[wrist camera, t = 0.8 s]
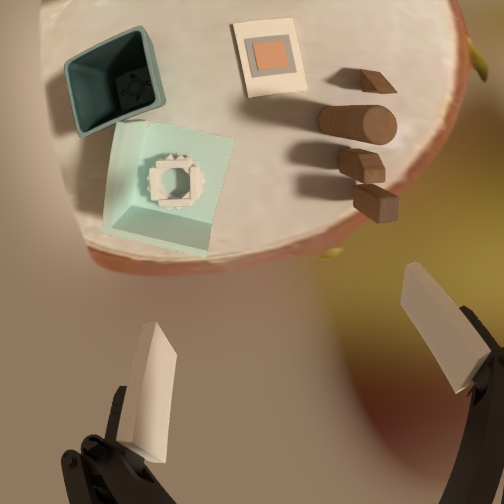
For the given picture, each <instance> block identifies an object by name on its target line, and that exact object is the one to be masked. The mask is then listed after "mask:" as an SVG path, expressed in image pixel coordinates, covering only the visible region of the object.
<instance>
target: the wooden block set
mask: <svg viewBox="0 0 504 504" xmlns="http://www.w3.org/2000/svg"><path fill="white" fill-rule="evenodd" d="M360 74H361V84H362V91H363V92H370V93H380V94H388V93H397V91H396V90H395V89H394V88H393V86H392V85H391V84H390V83H389V82H388V81H387V79H386V78H385V77H384V76H383V75H382V74H381V73H380V72H376V71H369V70H361V69H360ZM318 122H319V126H320V128H321V129H322V131H324V132H325V133H326V134H328V135H330V136H335V137H341V138H346V139H351V140H356V141H361V142H366V143H370V144H375V145H384V144H387V143H388V142H390V141H391V140H392V139H393V138H394V137H395V135H396V132H397V122H396V119H395V117H394V115H393V114H392V113H391V111H390V110H388V109H387V108H385V107H383V106H380V105H350V106H332V107H327V108H325V109H324V110H323V111H322V112H321V113H320V115H319V121H318ZM339 171H340V173H342V174H344V175H347V176H349V177H351V178H353V179H355V180H357V181H359V182H361V183H364V184H360V185H354V193H353V206H354V208H356V209H357V210H359V211H360V212H362V213H363V214H365V215H366V216H367V217H369V218H370V219H372V220H373V221H375V222H376V223H385V222H392V221H396V220H397V217H398V206H399V197H398V196H396V195H394V194H392V193H390V192H388V191H386V190H384V189H382V188H380V187H378V186H376V185H374V184H367V183H381V182H385V167H384V165H383V163H382V161H381V159H380V157H379V155H378V154H377V153H373V152H370V151H366V150H362V149H340V150H339Z"/></svg>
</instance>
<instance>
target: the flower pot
mask: <svg viewBox="0 0 504 504" xmlns="http://www.w3.org/2000/svg"><path fill="white" fill-rule="evenodd" d="M64 71H65V77H66V82H67V87H68V91H69V97H70V101H71V106H72V111H73V116H74V120H75V124H76V128H77V132H78V135H79V136H80V138H84V137H86V136H89V135H91V134H93V133H96V132H98V131H101V130H103V129H105V128H107V127H110V126H112V125H114V124H116V123H117V122H119V121H123V120H125V119H128V118H131V117H133V116H136V115H138V114H141V113H144V112H147V111H149V110H152V109H155V108H159V107H162V106H163V105H164V104H165V103H166V98H165V94H164V90H163V86H162V82H161V78H160V74H159V70H158V65H157V61H156V56H155V51H154V47H153V44H152V41H151V39H150V38H149V36H148V34H147V32H146V30H145V29H144V27H143V26H137V27H134V28H131V29H129V30H127V31H125V32H122V33H120V34H118V35H116V36H113V37H111V38H109V39H107V40H105V41H103V42H101V43H99V44H97V45H95V46H93V47H91V48H89V49H87V50H85V51H83V52H82V53H80V54H78V55H76V56H74V57H73V58H71V59H69V60H68V61H67V62H66V63H65V64H64ZM133 75H135V78H134V79H132V76H133ZM148 81H150V85H147V82H148ZM123 91H126V94H125V95H123V94H122V92H123ZM137 98H141V101H139V102H138V101H137Z"/></svg>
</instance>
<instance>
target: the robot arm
mask: <svg viewBox="0 0 504 504" xmlns="http://www.w3.org/2000/svg"><path fill="white" fill-rule="evenodd" d="M400 304H401V306H402V307H403V309H404V310H405V312H406V313H407V314H408V316H409V317H410V319H411V320H412V322H413V323H414V325H415V326H416V328H417V329H418V331H419V332H420V334H421V336H422V337H423V339H424V340H425V342H426V344H427V345H428V347H429V348H430V350H431V351H432V353H433V355H434V356H435V358H436V360H437V361H438V363H439V365H440V366H441V368H442V370H443V372H444V373H445V375H446V377H447V379H448V380H449V382H450V384H451V386H452V388H453V390H454V391H455V393H458V392H459V391H461V390H463V389H464V388H466V387H467V386H468V385H469V384H470V382H471V381H472V380H473V382H474V383H475V384H474V385H473V387H472V388H471V389H470V391H469V392H468V394H467V396H469V395H470V394H471V393H472V396H471V402H470V407H469V413H468V417H467V422H466V426H465V430H464V434H463V438H462V441H461V445H460V448H459V451H458V455H457V458H456V461H455V464H454V467H453V470H452V472H451V475H450V478H449V480H448V483H447V486H446V488H445V490H444V493H443V495H442V498H441V500H440V502H439V504H492V502H493V500H494V497H495V494H496V491H497V488H498V485H499V481H500V479H501V475H502V471H503V468H504V347H503V348H501V347H500V346H499V345H498V344H497V342H496V341H495V340H494V338H493V337H492V336H491V334H490V333H489V332H488V330H487V329H486V328H485V326H483V325H482V323H481V321H480V320H478V317H477V316H476V315H475V314H474V313H473V311H472V310H470V309H468V308H467V307H465V306H462V307H460V308H458V307H457V305H456V304H455V303H454V302H453V301H452V299H451V298H450V297H449V296H448V295H447V294H446V292H445V291H444V290H443V289H442V288H441V287H440V286H439V284H438V283H437V282H436V281H435V280H434V279H433V278H432V277H431V276H430V274H429V273H428V272H427V271H426V270H425V269H424V268H423V267H422V266H421V265H420V264H419V263H418V262H414V263H410V264H407V265H406V270H405V276H404V283H403V289H402V296H401V301H400ZM176 358H177V354H176V353H175V351H174V350H173V348H172V347H171V345H170V343H169V342H168V341H167V339H166V337H165V335H164V334H163V332H162V330H161V329H160V327H159V325H158V324H157V322H154V323H147V324H144V325H143V328H142V332H141V335H140V339H139V342H138V346H137V350H136V353H135V357H134V361H133V365H132V368H131V373H130V377H129V381H128V385H127V386H120V387H119V388H118V390H117V391H116V393H115V395H114V398H113V402H112V407H111V411H110V412H111V414H110V415H109V420H108V424H107V429H106V434H105V439H103V438H101V437H100V436H98V435H89V436H87V437H86V438H85V439H84V440H83V442H82V444H81V454H80V453H78V452H77V451H75V450H67V451H66V452H65V453H64V454H63V456H62V458H61V466H62V471H63V477H64V482H65V486H66V491H67V495H68V499H69V502H70V504H176V502H175V501H174V500H173V499H172V498H171V497H170V495H169V494H168V493H167V492H166V491H165V489H164V488H163V487H162V486H161V485H160V483H159V482H158V481H157V479H156V478H155V477H154V475H153V474H152V473H151V471H150V470H149V469H148V467H147V466H146V465H145V464H144V458H145V459H146V460H148V461H150V462H158V463H166V452H167V439H168V427H169V416H170V406H171V398H172V389H173V381H174V373H175V365H176ZM501 504H504V489H503V495H502V501H501Z"/></svg>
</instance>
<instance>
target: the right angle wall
mask: <svg viewBox="0 0 504 504" xmlns="http://www.w3.org/2000/svg"><path fill="white" fill-rule="evenodd" d="M147 124H148V121H147V120H141V119H139V120H128V121H119V122H117V123H116V128H115V133H114V138H113V143H112V149H111V154H110V161H109V167H108V174H107V182H106V190H105V199H104V210H103V223H102V233H104V234H108V235H112V236H116V237H120V238H124V239H129V240H133V241H137V242H141V243H145V244H149V245H153V246H157V247H161V248H165V249H170V250H174V251H178V252H182V253H186V254H191V255H195V256H199V257H204V258H206V256H207V252H208V246H209V239H210V233H211V226H212V221H213V218H214V214H215V210H216V207H217V203H218V199H219V196H220V192H221V189H222V185H223V182H224V178H225V175H226V171H227V168H228V165H229V161H230V158H231V155H232V151H233V148H234V145H235V142H236V140H233V139H230V138H226V137H222V136H218V135H214V134H210V133H206V132H202V131H197V130H193V129H188V128H184V127H179V126H174V125H169V124H164V123H159V122H156V123H154V124H152V125H151V126H149V127H147Z"/></svg>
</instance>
